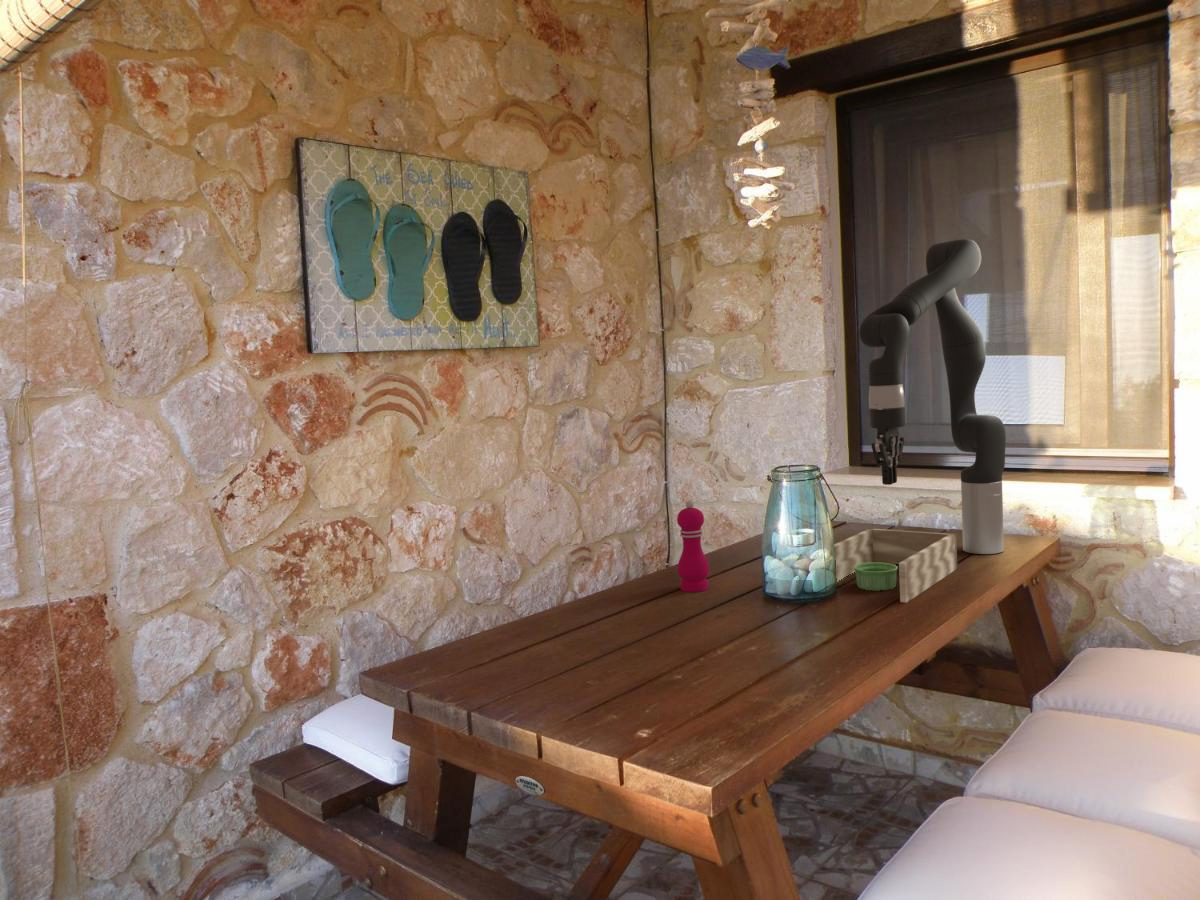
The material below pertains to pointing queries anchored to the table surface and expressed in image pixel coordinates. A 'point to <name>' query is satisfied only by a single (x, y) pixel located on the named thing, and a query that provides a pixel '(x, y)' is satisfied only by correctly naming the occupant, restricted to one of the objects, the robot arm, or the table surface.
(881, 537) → the wooden c-shaped frame
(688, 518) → the pepper mill
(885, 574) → the ramekin
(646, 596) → the table surface
